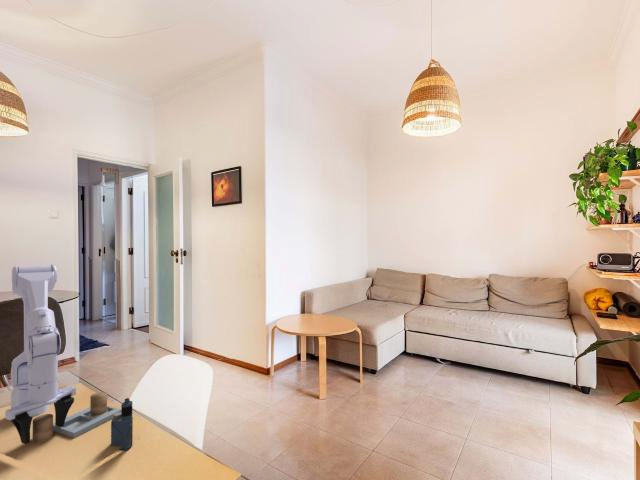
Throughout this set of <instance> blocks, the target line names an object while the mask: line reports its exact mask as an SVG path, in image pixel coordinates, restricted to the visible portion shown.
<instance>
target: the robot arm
mask: <svg viewBox="0 0 640 480" xmlns="http://www.w3.org/2000/svg"><path fill="white" fill-rule="evenodd" d="M57 269H58V268H57V266H56V265H55V264H40V265H14V266H13V267H12V268H11V285H12V287H11V288H12V289H11V291H12V292H13V293H12V294H13V295H17V296H20V297H21V299H22V302H23V351H22V352H21V353H20V354H19V355H18V356H16V357H15V358H14V359H13V360H12V361H11V368H10V385H11V387H12V388H13V389H12V391H11V393H10V408H8V409H6V410H5V414H4V415H5V417H4V418H5V420H7V421H10V422H11V423H12V424H13V425H14V427H15V429H16V430H17V433H18V434H19V435H18V436H19V439H20V442H21V443H22V444H23V445H28V444H29V443H30V441H31V425H32V423H33V419H34V417H35V416H36V417H37V416H38V415H39V416H40V415H42V414H44V413H45V412H47V411H48V410H49V409H50V406H51V405H52V404H53V406H54V413H55V416H54V417H55V419H54V423H55V424H56V425H57V426H60V427H63V426H64V422H65V419H66V418H67V417H68V413H69V410H70V409H71V408H72V405H73V404H74V402H75V397H73V396H75V395H77V392H76V391H77V388H76V387H75V386H69V387H66V388H62V389H58V382H59V380H58V377H59V376H58V374H59V373H58V372H59V371H58V370H59V367H58V365H59V362H58V360H59V359H58V358H59V355H58V354H60V352H61V348H62V346H61V345H62V340H61V336H60V331H59V329H58V327H57V326H56V317H55V312H54V310H52V309H50V308H49V305H48V304H49V303H48V301H49V300H48V299H49V293H50V292H53V289H54V288H55V286H56V283H57V282H58V280H57V279H58V270H57Z"/></svg>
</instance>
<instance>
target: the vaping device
mask: <svg viewBox="0 0 640 480" xmlns="http://www.w3.org/2000/svg"><path fill="white" fill-rule="evenodd" d="M120 407H121V408H120V409H121V412H117V413H114V414H113V418H112V419H111V423H110V445H111V447H112V446H114V447H119V449H118V451H123V452H124V451H125V452H126V451H128V450H129V449H131V448H132V446H133V424H134V423H133V422H134V421H133V419H134V417H133V401H132V400H130V398H129V397H128V398H125V399H124V401H123V402H122V403H121V406H120Z"/></svg>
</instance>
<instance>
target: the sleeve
mask: <svg viewBox="0 0 640 480" xmlns="http://www.w3.org/2000/svg"><path fill="white" fill-rule="evenodd" d="M53 423H54V414H52V413H46V414H40V415H39V416H38V415H37V416H36V417H35V418H34V417H33V418H32V440H31V442H32V443H35V444H37V443H43V442H45V441H48V440H50V439H52V438H53V437H54V431H53Z"/></svg>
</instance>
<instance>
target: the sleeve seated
mask: <svg viewBox="0 0 640 480" xmlns="http://www.w3.org/2000/svg"><path fill="white" fill-rule="evenodd" d="M89 401H90V404H89V407H90V417H93V418H97V417H99V416H101V415H103V414H105V413H107V412H108V410H107V405H108V392H107V391H98V392H95V393H93V394H91V395H90V399H89Z"/></svg>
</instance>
